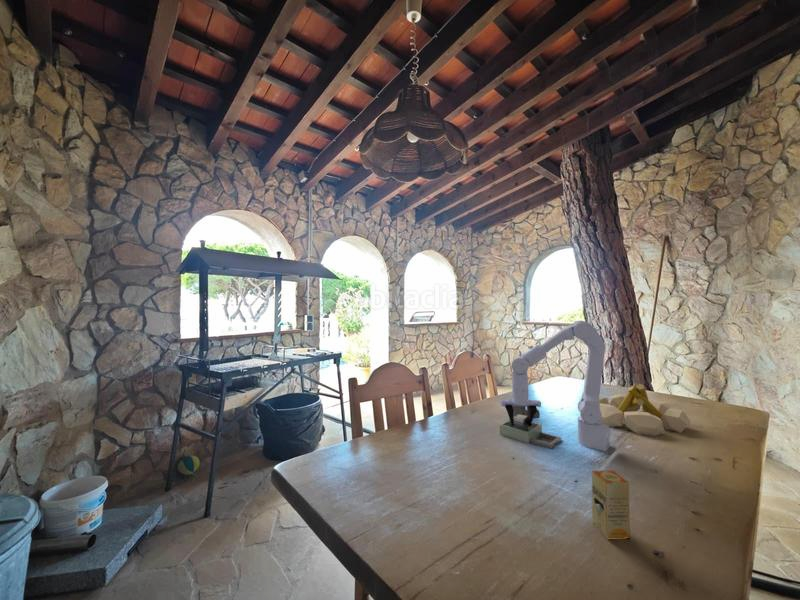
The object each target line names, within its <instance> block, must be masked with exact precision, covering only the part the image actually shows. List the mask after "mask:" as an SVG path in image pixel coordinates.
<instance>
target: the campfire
mask: <svg viewBox="0 0 800 600" xmlns="http://www.w3.org/2000/svg"><path fill="white" fill-rule="evenodd" d="M627 392H628V393H627V394H621V393H618V394H615V395H611V396H610V397H609V399H608V397H604V396H599V399H600V411H601V414H602V418H601V423H603V424H605V425H608V426H609V427H611V428H612V427H623V417H624V423H625V427H627V428H628V429H629V430H631V431H632V432H633V433H635V434H638V435H645V436H646V435H647V436H652V437H656V436H659V435H661V434H664V433H666V431H665V429H666V430H668V431H672V432H676V433H683V431H684V430H685V429H686V428H687V427H688V426H689V425H690V423H691V420H690V418H689V417H688V416H687V414H686V413H685V411H683V410H679V409H674V408H672V407H671V406H670V404H669V402H666V401H661V400H658V399H649V397H648V393H647V390H646V387H645V385H644V384H642V383H637V382H634V383H633V385H632V386H629V387H628V388H627ZM641 407H642V411H640V410H641Z"/></svg>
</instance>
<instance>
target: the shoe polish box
mask: <svg viewBox="0 0 800 600" xmlns="http://www.w3.org/2000/svg"><path fill="white" fill-rule="evenodd" d="M591 499H592V500H591V501H592V506H591V507H592V508H591V511H592V524H593V523H594V525H595V526H596V527H597V528H598V529H599V530H600V531H601V533H602V534H603V535H604V536H605V537H606V538H625V537H630V538H631V535H630V534H631V529H630V527H631V526H630V524H631V523H630V521H631V520H630V482H629V481H628V480H626V479H625V478H624V477H623V476H621V475H620V474H618V473H617V472H616V471H615V470H591ZM594 525H593V526H594ZM595 526H594V527H595ZM601 533H600V534H601ZM602 534H601V535H602ZM603 535H602V536H603ZM604 536H603V537H604ZM605 537H604V538H605ZM606 538H605V539H606Z"/></svg>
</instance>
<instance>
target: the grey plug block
mask: <svg viewBox="0 0 800 600" xmlns="http://www.w3.org/2000/svg"><path fill="white" fill-rule="evenodd" d="M513 421H514V422H513V423H514V428H516V429H519V430H523V431H527V432H528V416H525V415H520V414H518V415H517V416H515V417H513Z"/></svg>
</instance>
